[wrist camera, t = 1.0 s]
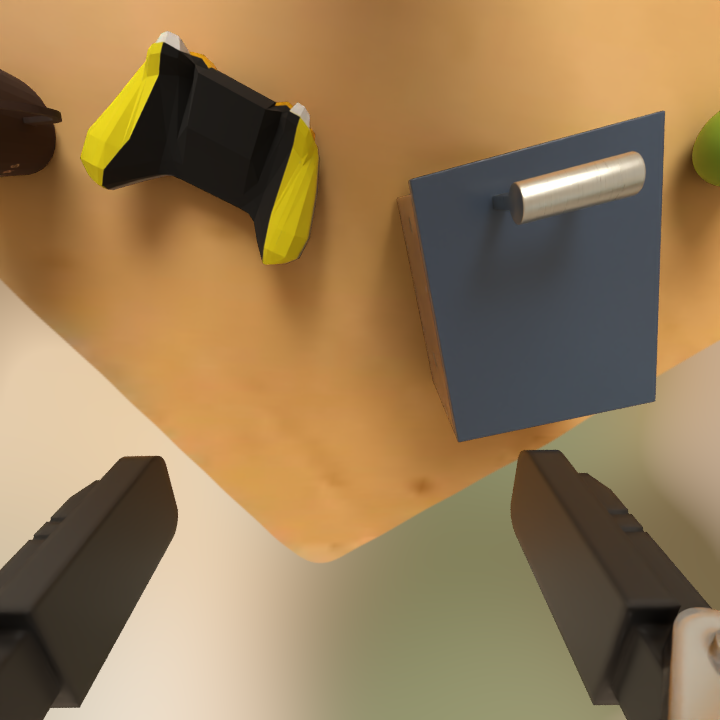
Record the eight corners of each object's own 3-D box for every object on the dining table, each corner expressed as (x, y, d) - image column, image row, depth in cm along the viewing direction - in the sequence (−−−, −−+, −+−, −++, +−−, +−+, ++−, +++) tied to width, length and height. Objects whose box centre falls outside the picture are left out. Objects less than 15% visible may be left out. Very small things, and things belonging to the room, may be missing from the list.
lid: (407, 180, 21) (422, 173, 16) (654, 113, 20) (753, 82, 15) (455, 436, 27) (477, 489, 22) (647, 396, 26) (716, 442, 21)
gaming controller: (299, 267, 32) (353, 141, 28) (288, 280, 27) (351, 128, 23) (113, 177, 29) (147, 27, 26) (60, 172, 24) (95, -16, 21)
